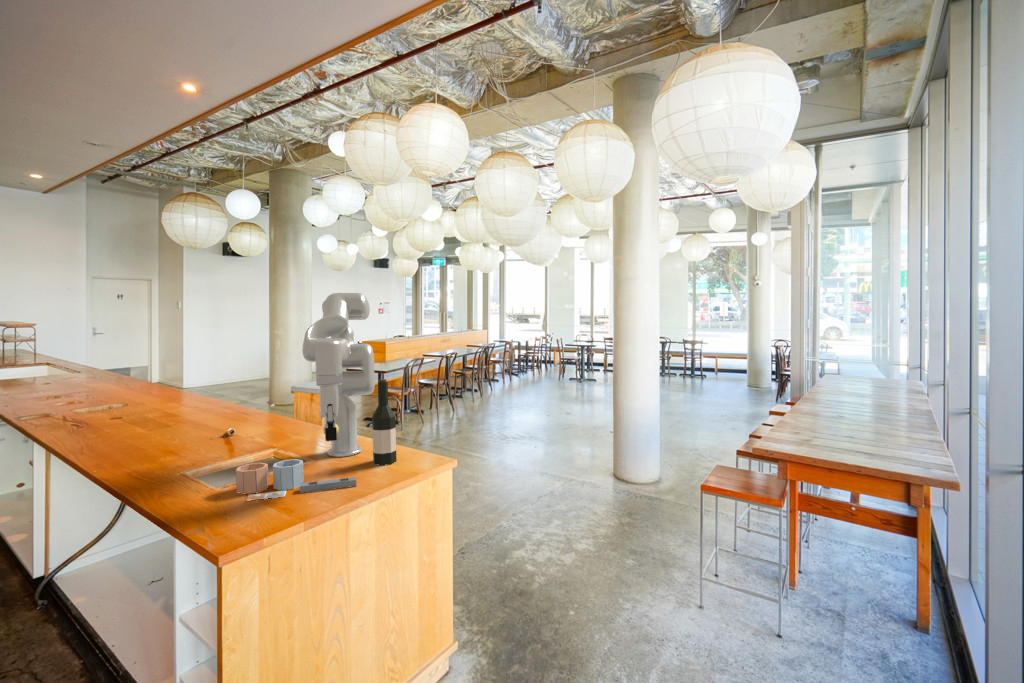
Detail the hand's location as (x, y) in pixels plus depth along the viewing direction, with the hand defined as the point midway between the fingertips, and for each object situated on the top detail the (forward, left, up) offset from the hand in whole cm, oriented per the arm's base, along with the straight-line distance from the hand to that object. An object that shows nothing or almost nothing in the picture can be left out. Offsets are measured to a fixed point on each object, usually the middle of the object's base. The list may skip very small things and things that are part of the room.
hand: (331, 437), depth 144 cm
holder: (+2, -1, -15) cm, 15 cm away
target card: (+3, -18, -15) cm, 24 cm away
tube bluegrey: (-5, -13, -15) cm, 21 cm away
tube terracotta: (-5, -23, -15) cm, 28 cm away
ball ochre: (0, 0, 0) cm, 0 cm away
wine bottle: (-19, +17, -15) cm, 30 cm away
